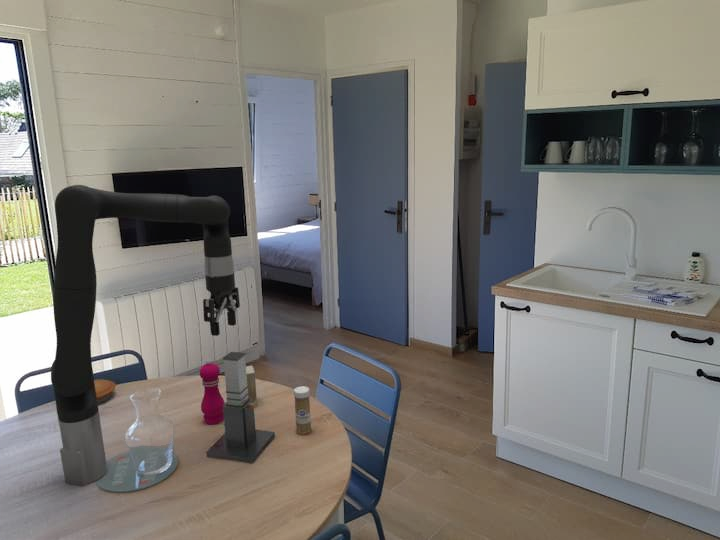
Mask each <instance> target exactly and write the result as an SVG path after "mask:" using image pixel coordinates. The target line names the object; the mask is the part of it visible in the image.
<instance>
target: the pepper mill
mask: <svg viewBox="0 0 720 540" xmlns="http://www.w3.org/2000/svg"><path fill="white" fill-rule="evenodd" d="M220 374H221V370H220V367H219V365H217V364H216V363H213V362H212V360H211V359H210V358H208V359H206V360H205V364H204V365H202V366H201V367H200V368H199V376H200V378H201V383H202V386H203V389H204V392H203V397H202V400H201V405H200V410H201V412H202V413H203V422H204V424H208V425H216V424H219V423H222V422H224V415H223V405H224V404H225V403H226V402H225V400H224V398H223V396H222V395H221V392H220V391H219V390H220V389H219V383H220V378H219V376H220Z"/></svg>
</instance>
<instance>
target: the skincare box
mask: <svg viewBox="0 0 720 540" xmlns="http://www.w3.org/2000/svg"><path fill="white" fill-rule="evenodd" d="M246 374H247V386H248V393H249V394H248V398H253V403H255V408H257V407H258V398H257V385H256V373H255V369H254V366H253V365H246Z"/></svg>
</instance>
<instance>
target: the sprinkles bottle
mask: <svg viewBox="0 0 720 540" xmlns="http://www.w3.org/2000/svg"><path fill="white" fill-rule="evenodd" d="M310 395H311V393H310V388H309V387H308V386H303V385H302V386H297V387H295V388H294V390H293V396H294V410H295V412H294V413H295V427H296V429H295V432H296V433H297V434H299V435H308V434H309V433H311V431H312V427H311V404H310Z"/></svg>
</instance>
